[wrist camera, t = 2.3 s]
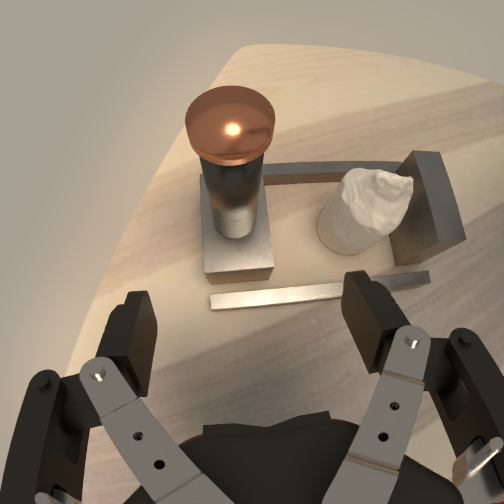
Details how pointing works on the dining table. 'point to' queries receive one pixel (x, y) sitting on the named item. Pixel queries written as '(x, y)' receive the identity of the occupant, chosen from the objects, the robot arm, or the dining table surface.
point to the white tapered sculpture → (364, 210)
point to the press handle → (233, 181)
